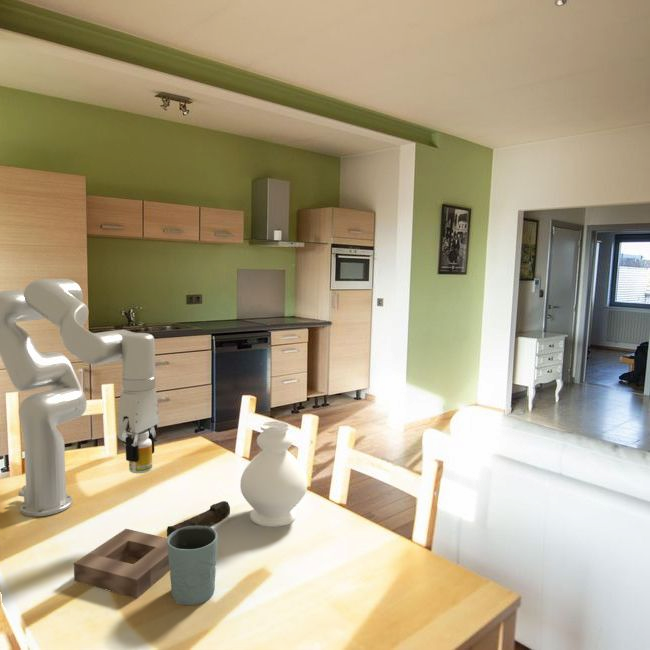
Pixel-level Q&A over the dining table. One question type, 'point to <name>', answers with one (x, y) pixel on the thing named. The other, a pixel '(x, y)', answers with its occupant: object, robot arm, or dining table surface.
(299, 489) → the decorative vase
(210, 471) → the dining table surface
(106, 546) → the collar block
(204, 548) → the blue grey cup
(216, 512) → the hand tool
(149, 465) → the supplement bottle
